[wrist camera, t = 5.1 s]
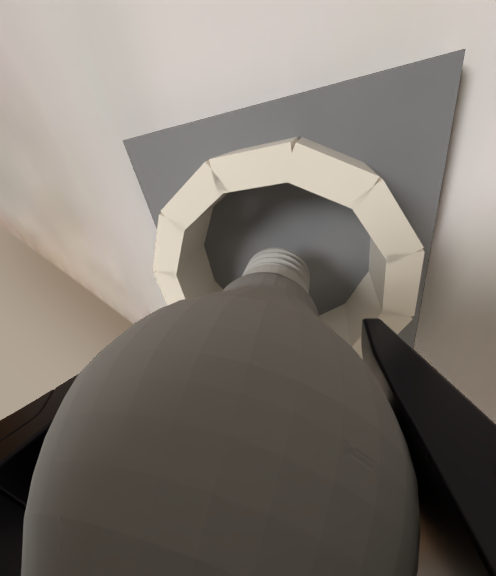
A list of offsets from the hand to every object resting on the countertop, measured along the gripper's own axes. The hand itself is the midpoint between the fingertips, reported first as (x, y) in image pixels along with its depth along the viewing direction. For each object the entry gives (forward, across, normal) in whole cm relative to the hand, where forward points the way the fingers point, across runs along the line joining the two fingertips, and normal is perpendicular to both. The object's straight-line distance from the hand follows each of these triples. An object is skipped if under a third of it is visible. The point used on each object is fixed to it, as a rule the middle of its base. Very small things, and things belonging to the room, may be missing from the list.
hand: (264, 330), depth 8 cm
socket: (+6, 0, 0) cm, 6 cm away
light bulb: (+4, 0, 0) cm, 4 cm away
